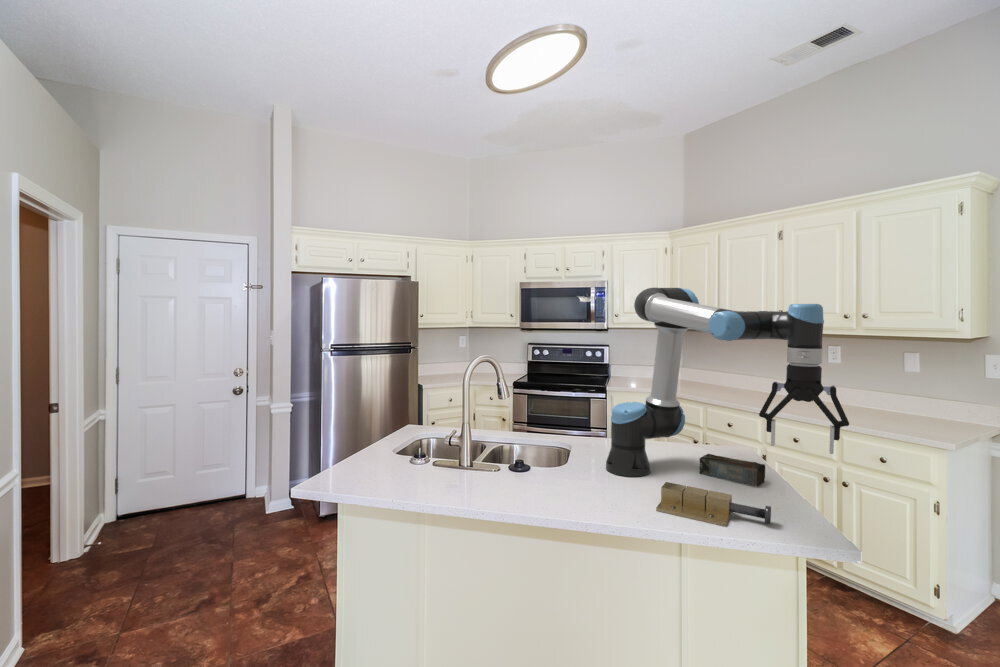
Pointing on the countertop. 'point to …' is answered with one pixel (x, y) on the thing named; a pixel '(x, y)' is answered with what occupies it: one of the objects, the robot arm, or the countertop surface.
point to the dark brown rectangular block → (732, 470)
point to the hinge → (695, 503)
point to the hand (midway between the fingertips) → (801, 448)
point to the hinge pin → (752, 511)
